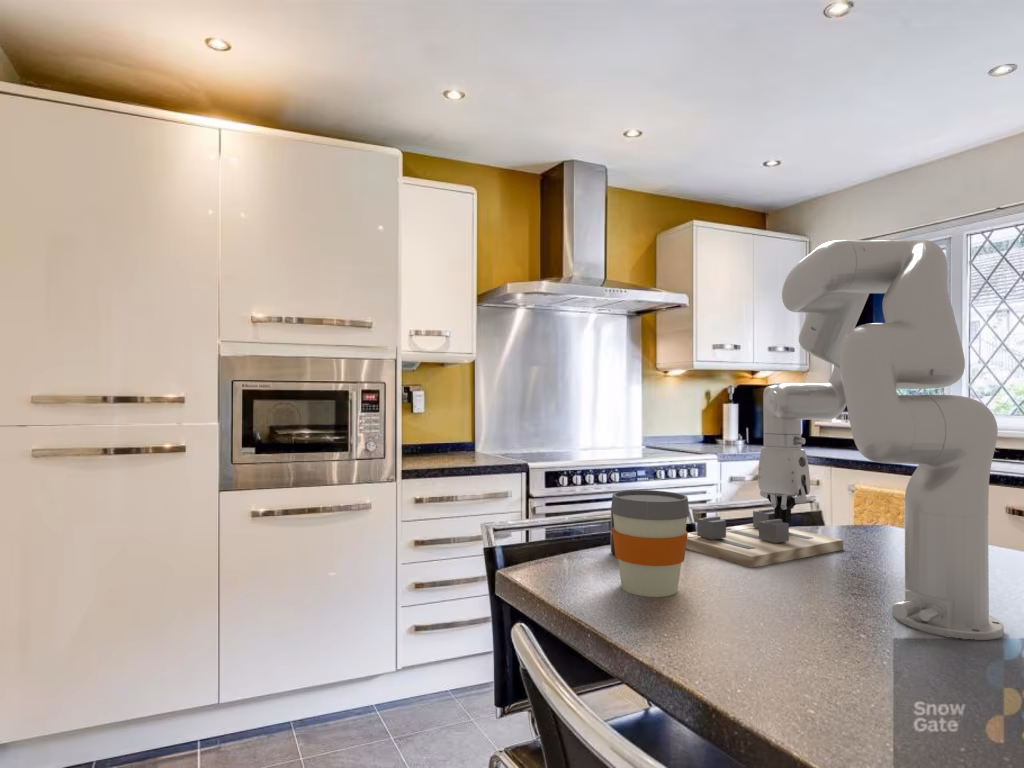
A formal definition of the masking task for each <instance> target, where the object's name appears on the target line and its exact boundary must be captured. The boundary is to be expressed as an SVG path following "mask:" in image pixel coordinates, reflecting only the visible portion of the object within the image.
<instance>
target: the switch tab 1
mask: <svg viewBox="0 0 1024 768" xmlns="http://www.w3.org/2000/svg"><path fill="white" fill-rule="evenodd" d="M696 520H697V521H696V522H697V524H696V525H697V527H696V532H697V536H700V537H704V538H708V539H711V540H714V539H720V538H726V527H727V520H725V519H721V516H718V515H717V516H715V515H714V516H707V517H702V518H701V517H700V518H697V519H696Z"/></svg>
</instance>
